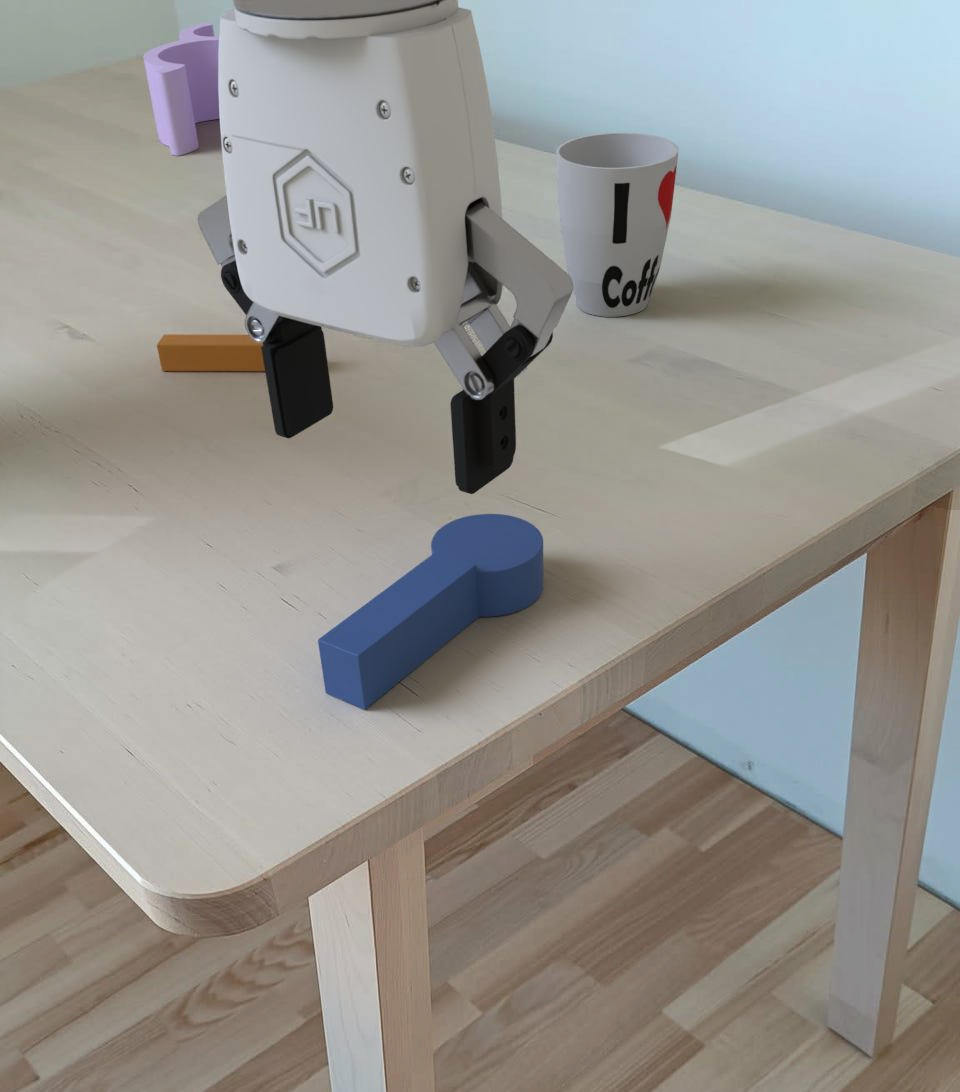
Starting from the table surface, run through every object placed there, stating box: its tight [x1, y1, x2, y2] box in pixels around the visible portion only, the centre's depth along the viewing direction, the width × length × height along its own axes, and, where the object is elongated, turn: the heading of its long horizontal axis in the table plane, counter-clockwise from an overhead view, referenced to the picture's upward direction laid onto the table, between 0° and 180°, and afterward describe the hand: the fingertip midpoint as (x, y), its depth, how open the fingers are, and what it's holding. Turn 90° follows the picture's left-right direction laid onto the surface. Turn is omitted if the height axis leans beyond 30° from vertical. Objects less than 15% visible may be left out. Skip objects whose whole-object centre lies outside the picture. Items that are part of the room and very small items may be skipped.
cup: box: [555, 132, 680, 318], centre depth 88 cm, size 8×8×10 cm
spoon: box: [317, 513, 544, 711], centre depth 62 cm, size 14×6×3 cm, turn 145°
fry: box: [156, 333, 265, 372], centre depth 85 cm, size 10×2×2 cm, turn 85°
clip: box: [142, 22, 220, 157], centre depth 126 cm, size 20×12×7 cm, turn 1°
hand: (392, 451), depth 54 cm, fingers open, 9 cm apart
